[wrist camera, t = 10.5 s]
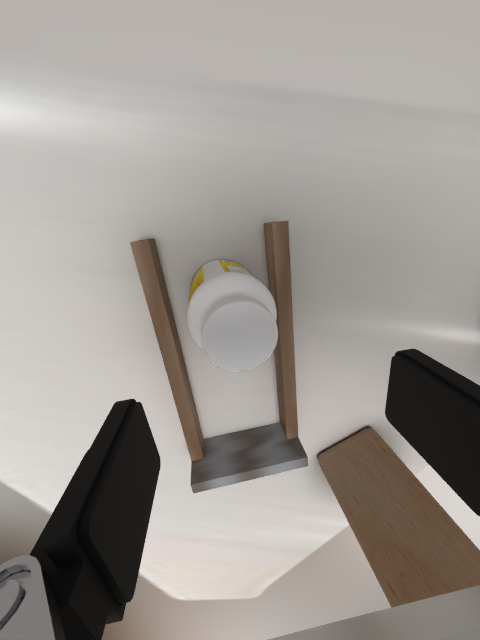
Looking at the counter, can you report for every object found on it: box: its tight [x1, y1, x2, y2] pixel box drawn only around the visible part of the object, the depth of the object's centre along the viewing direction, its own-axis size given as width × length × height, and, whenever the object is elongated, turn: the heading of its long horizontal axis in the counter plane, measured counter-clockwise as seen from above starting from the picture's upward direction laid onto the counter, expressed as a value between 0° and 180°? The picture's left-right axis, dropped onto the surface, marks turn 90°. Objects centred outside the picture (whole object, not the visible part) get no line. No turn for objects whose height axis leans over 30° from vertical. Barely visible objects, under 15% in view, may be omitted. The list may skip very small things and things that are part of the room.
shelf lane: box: [130, 221, 308, 493], centre depth 26 cm, size 14×28×6 cm, turn 7°
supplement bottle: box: [187, 259, 278, 372], centre depth 20 cm, size 7×7×13 cm
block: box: [318, 428, 480, 607], centre depth 30 cm, size 10×10×20 cm
